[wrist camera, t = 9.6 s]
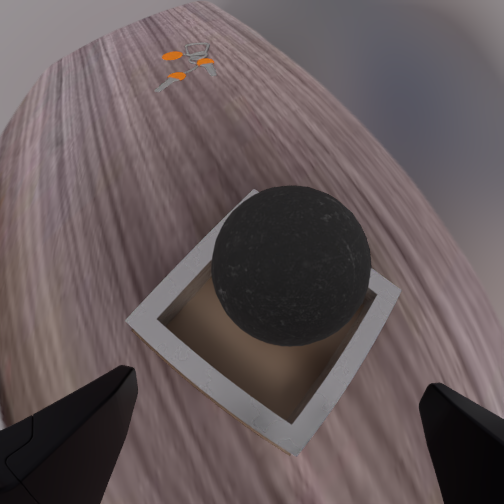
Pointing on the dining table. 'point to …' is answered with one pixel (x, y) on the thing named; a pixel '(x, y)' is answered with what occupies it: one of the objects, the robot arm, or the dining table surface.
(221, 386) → the socket collar
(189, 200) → the dining table surface
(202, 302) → the socket board
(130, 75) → the dining table surface
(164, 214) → the dining table surface
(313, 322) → the light bulb
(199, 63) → the key chain
